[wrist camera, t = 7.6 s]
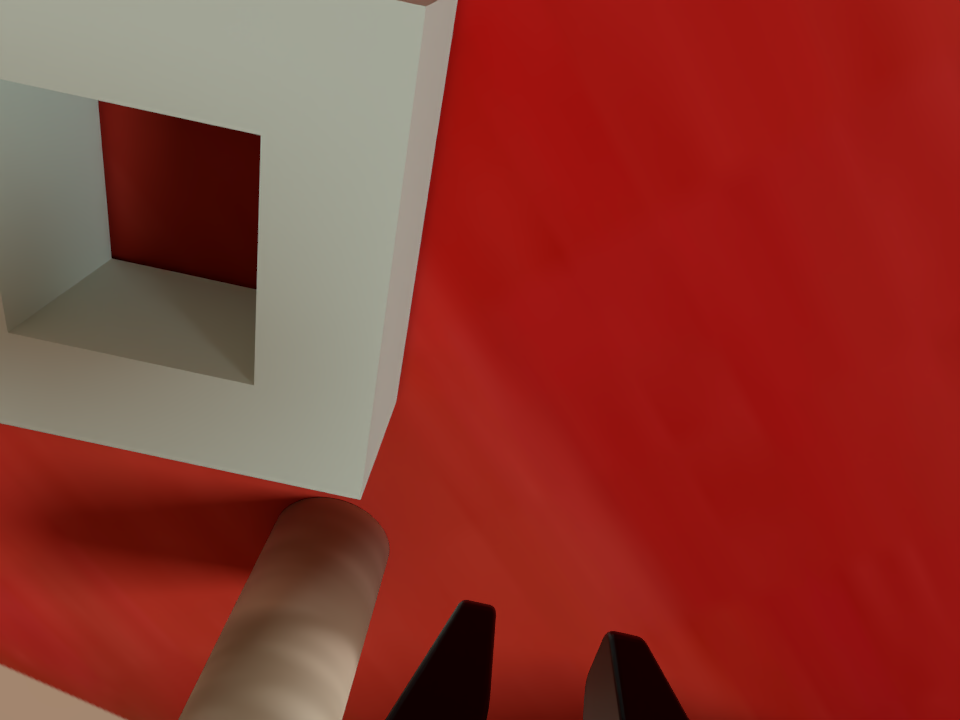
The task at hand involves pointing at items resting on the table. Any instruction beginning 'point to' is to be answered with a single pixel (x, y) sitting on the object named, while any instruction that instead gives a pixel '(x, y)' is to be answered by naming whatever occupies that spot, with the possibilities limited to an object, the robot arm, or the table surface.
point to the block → (281, 228)
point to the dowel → (297, 619)
